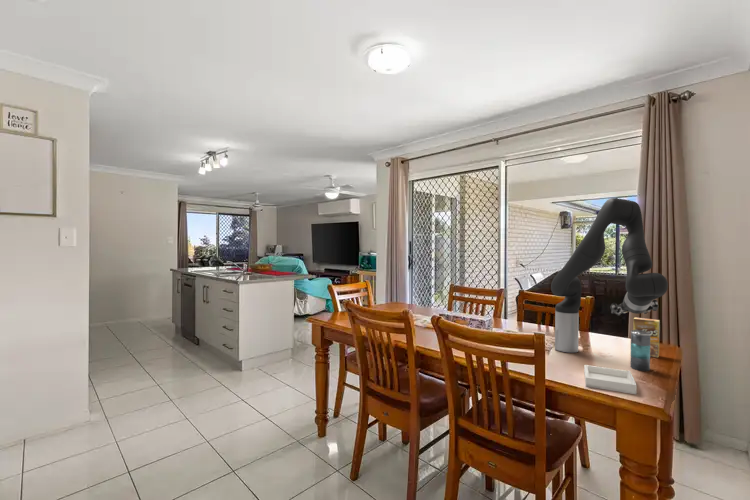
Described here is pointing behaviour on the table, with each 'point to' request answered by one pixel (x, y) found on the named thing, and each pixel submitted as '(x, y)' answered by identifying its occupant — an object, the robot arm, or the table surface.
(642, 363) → the tin
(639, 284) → the robot arm
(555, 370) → the table surface
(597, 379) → the tray
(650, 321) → the candy box
